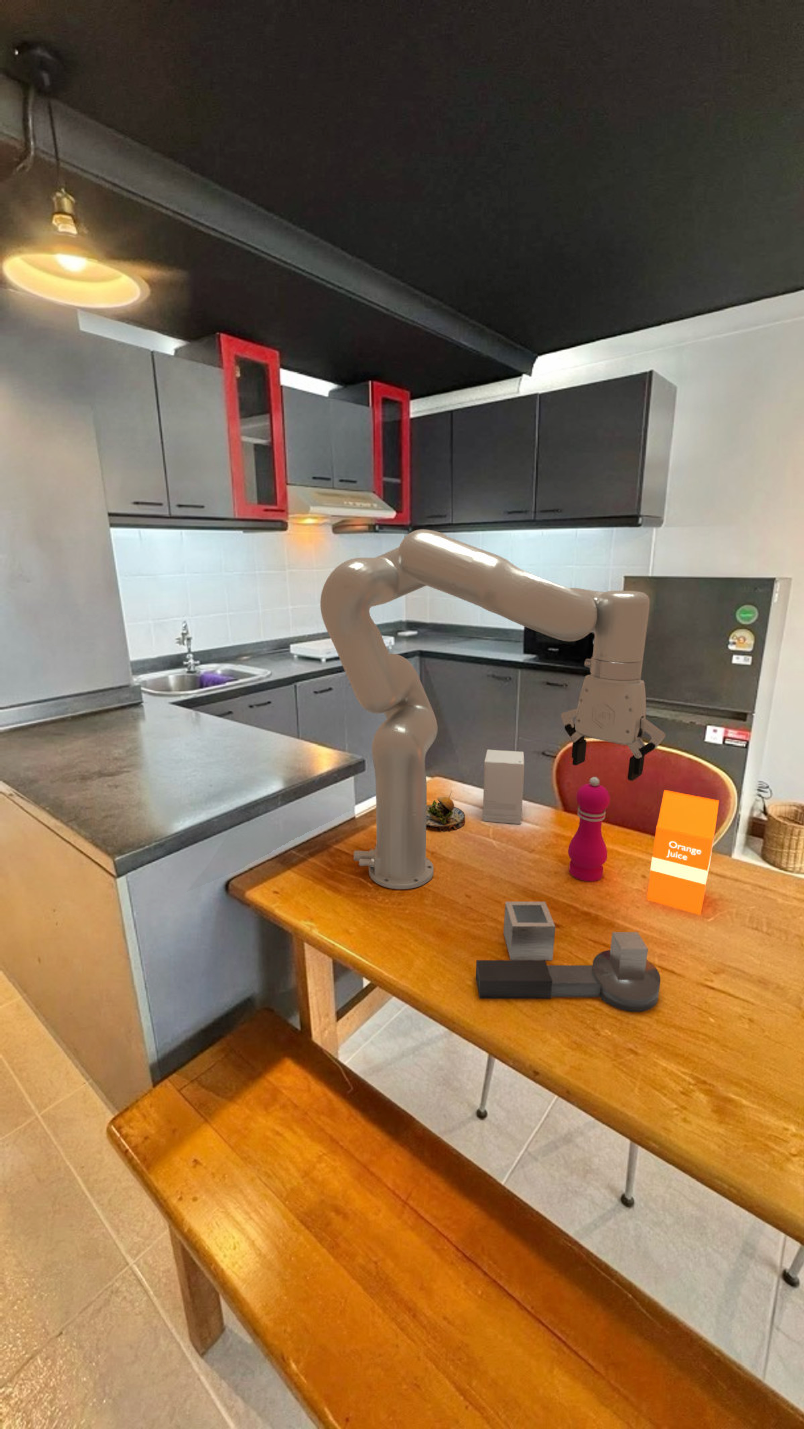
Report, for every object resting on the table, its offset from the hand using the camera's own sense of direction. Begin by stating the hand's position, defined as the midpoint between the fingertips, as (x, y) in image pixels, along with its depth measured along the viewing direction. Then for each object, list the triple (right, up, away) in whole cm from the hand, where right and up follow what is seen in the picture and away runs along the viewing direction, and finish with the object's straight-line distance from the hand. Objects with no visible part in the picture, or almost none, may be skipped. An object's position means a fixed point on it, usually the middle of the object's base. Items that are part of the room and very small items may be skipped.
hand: (605, 770), depth 97 cm
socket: (-14, -27, -5) cm, 31 cm away
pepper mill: (+2, -22, +16) cm, 27 cm away
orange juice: (+16, -24, +8) cm, 30 cm away
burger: (-25, -16, +38) cm, 48 cm away
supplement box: (-10, -15, +41) cm, 45 cm away
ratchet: (-10, -30, -14) cm, 34 cm away
